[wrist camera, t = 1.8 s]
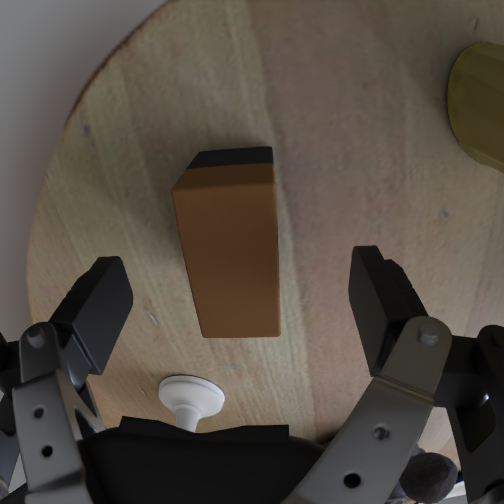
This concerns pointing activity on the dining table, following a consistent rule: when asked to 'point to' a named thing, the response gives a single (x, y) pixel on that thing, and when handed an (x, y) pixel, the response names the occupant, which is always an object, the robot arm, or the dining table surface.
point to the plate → (456, 488)
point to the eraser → (231, 241)
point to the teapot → (423, 478)
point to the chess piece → (190, 399)
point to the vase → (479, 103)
